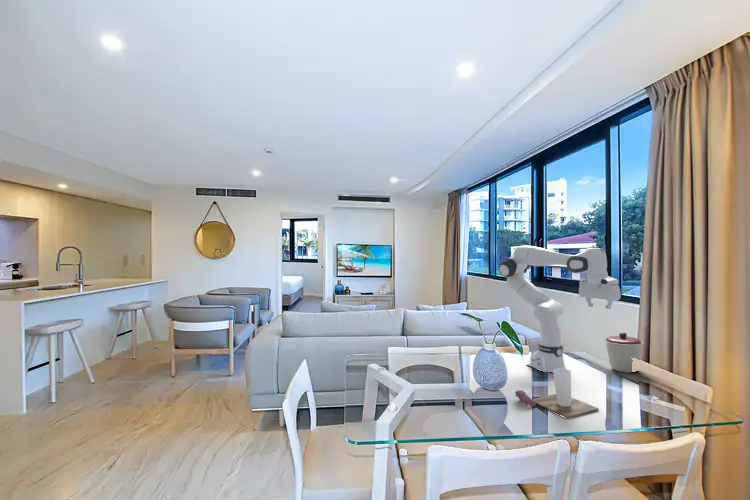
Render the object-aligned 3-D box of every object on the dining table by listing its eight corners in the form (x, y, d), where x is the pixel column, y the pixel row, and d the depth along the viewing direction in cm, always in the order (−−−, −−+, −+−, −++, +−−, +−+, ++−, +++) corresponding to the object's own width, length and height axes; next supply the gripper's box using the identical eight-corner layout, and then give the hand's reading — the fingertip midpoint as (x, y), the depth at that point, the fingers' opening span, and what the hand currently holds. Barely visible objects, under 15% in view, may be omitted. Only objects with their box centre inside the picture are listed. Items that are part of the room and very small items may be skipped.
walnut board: (530, 401, 166) (529, 399, 166) (559, 394, 172) (559, 392, 172) (566, 419, 147) (566, 416, 147) (598, 410, 154) (598, 408, 154)
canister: (598, 368, 207) (596, 331, 208) (619, 363, 214) (617, 328, 215) (631, 377, 191) (629, 337, 191) (653, 372, 198) (650, 333, 198)
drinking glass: (575, 408, 155) (573, 372, 155) (558, 408, 156) (556, 372, 156) (569, 402, 161) (567, 368, 162) (553, 402, 162) (551, 368, 163)
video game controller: (518, 403, 169) (511, 390, 169) (526, 397, 170) (519, 384, 170) (529, 411, 160) (522, 398, 159) (538, 406, 160) (530, 392, 160)
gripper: (575, 279, 190) (576, 306, 190) (612, 281, 171) (614, 310, 170) (583, 278, 192) (585, 305, 192) (621, 280, 173) (623, 309, 173)
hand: (599, 307), depth 181 cm, fingers open, 8 cm apart
